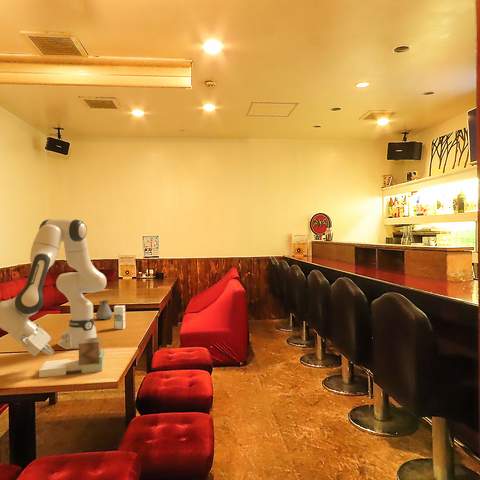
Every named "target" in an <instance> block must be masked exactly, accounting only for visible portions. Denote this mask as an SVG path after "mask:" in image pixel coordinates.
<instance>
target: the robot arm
mask: <svg viewBox="0 0 480 480" xmlns="http://www.w3.org/2000/svg"><path fill="white" fill-rule="evenodd" d="M87 229H88V228H87V226H86V224H85V223H84V222H83V221H82V220H79V219H71V218H57V219H56V218H55V219H53V218H50V219H49V218H48V219H45V220H43V221H42V222H41V223H40V224H39V229H38V231H37V233H36V236H35V237H34V240H33V241H32V242H33V243H32V245H31V249H30V254H29V261H30V271H29V273H28V277H27V280H26V283H25V285H24V286H23V288H22V289H21V290H20V291H19V292H18V293H17V295H16V296H15V297H13V298H10V299H8V300H2V301H0V329H1V330H3V331H5V332H7V333H8V334H9V335H10V336H11V338H13V339H14V340H15V341H16V342H18V343H19V344H20V345H21V346H22V347H23V348H24V350H26V351H27V352H28V353H29V354H30V355H31V356H34V357H36V356H37V355H38V354H40V352H42V353H43V354H46V355H47V356H49V357H51V356H53V354H54V353H55V350H54V349H52V347H51V345H50V344H48V343H50V341H51V340H52V337H51V336H50V334H48V333H47V332H46V331H45V330H44V329H43V328H42V327H40V326H41V325H40V324H39V323H38V322H33V321H31V320H30V319H29V318H30V317H32V316H33V315H36V314H37V313H38V312H39V310H40V309H41V308H42V307H43V305H44V302H45V301H44V294H43V288H44V284H45V279H46V278H47V277H46V276H47V273H48V271H49V269H50V268H51V267H52V266H53V265H54V264H55V261H56V259H57V258H58V255H59V252H60V248H61V243H62V242H63V246H64V247H63V248H64V253H65V260H66V263H67V265H68V266H69V267H70V268H72V269H74V270H75V271H76V272H72V271H71V272H63V273H61V274H59V275H58V277H57V279H56V282H55V284H56V286H55V287H56V289H57V290H58V291H59V292H60V293H62V294H63V295H64V296H65V298H66V299H67V301H68V303H69V308H70V309H69V310H70V319H69V320H67V321H68V326H67V328H66V329H65V330H64V331H63V332H62V333H61V336H60V338H61V340H59V341H57V342H56V345H58V346H59V347H60V348H63V349H64V350H73V349H74V350H75V349H77V350H79V342H80V340H81V339H87V338H98V337H97V336H98V335H97V327H96V326H95V318H94V304H93V302H91V300H89V299H88V298H87V297H85V296H84V294H85V293H86V294H89V293H93V294H94V293H97V292H98V293H99V292H103V291H104V290H105V288H106V287H107V284H108V283H107V277H106V276H105V274H104V273H102V272H100V270H98V269H97V268H96V267H95V266H94V264H93V263H92V261H91V257H90V252H89V247H88V246H89V245H88V241H87V236H86V235H87V231H88V230H87Z"/></svg>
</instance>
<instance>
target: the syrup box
mask: <svg viewBox="0 0 480 480" xmlns="http://www.w3.org/2000/svg"><path fill="white" fill-rule="evenodd" d="M113 325H114V326H113V330H124V329H125V328H126V304H125V305H118V304H117V305H114V306H113Z"/></svg>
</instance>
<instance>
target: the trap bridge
mask: <svg viewBox="0 0 480 480" xmlns="http://www.w3.org/2000/svg"><path fill="white" fill-rule="evenodd" d="M104 365H105V349H101V353H100V356H99V363H94V364H84V365H79V359H71V358H66V359H55V360H46V361H45V362H44V363H43V364H42V366H41V367H40V368H39V370H38V378H48V377H58V376H68V375H76V374H77V373H79V374H87V373H98V372H102V371H103V369H104Z"/></svg>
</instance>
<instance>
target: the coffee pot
mask: <svg viewBox="0 0 480 480" xmlns="http://www.w3.org/2000/svg"><path fill="white" fill-rule="evenodd" d="M109 302H110V300H106V299H105V300H99V301H98V303H99V307H98V309H97V312H96V314H95V317H96V319H98V320H99V319H107V320H110V319H111V318H112V317H113V316H114V313H113V311H112V310H111V308H110V306H109ZM109 318H110V319H109Z"/></svg>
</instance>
